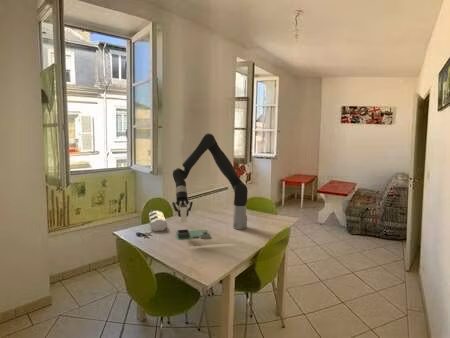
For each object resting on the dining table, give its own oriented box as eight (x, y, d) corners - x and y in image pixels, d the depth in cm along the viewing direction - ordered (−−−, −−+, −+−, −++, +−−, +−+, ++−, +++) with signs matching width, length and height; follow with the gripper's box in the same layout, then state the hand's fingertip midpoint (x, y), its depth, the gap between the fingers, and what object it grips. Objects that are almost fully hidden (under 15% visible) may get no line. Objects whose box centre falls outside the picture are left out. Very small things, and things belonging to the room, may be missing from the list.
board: (206, 231, 221) (206, 225, 220) (211, 239, 205) (211, 233, 205) (175, 233, 215) (175, 227, 215) (177, 242, 200) (177, 235, 199)
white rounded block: (149, 220, 244) (149, 204, 242) (162, 220, 247) (162, 203, 245) (151, 231, 220) (151, 213, 218) (166, 230, 223) (166, 212, 221)
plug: (185, 220, 208) (185, 204, 207) (186, 222, 204) (186, 206, 203) (179, 220, 207) (179, 204, 206) (180, 222, 203) (180, 206, 202)
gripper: (171, 191, 209) (172, 214, 199) (192, 190, 212) (195, 213, 202) (170, 197, 214) (172, 219, 204) (191, 196, 218) (193, 218, 208)
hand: (183, 216), depth 203 cm, fingers closed on plug, 4 cm apart
